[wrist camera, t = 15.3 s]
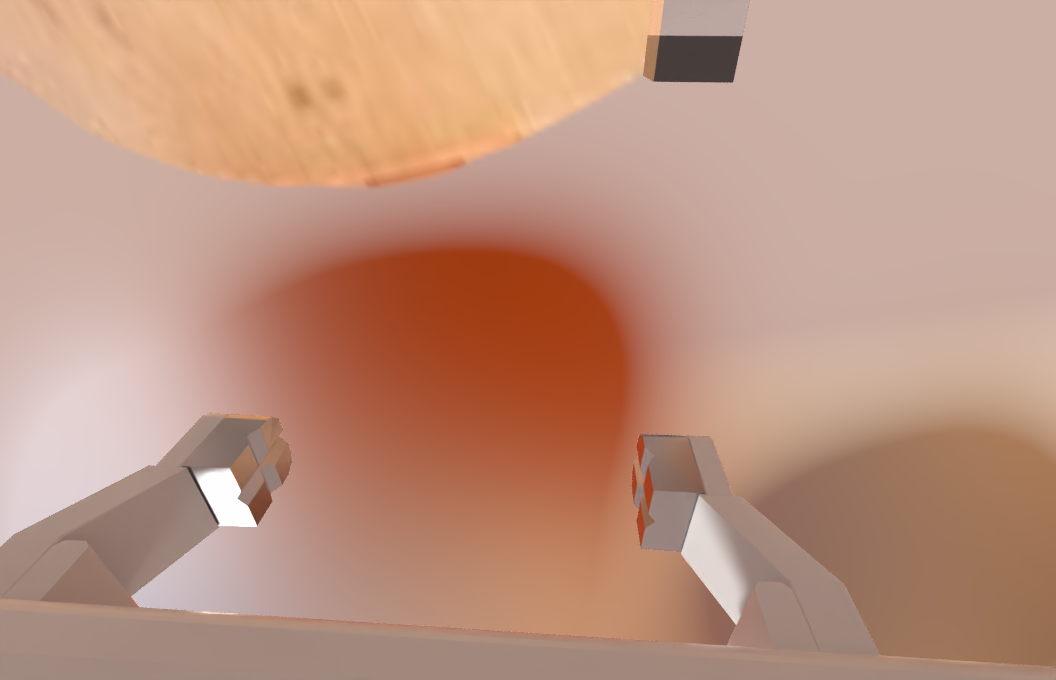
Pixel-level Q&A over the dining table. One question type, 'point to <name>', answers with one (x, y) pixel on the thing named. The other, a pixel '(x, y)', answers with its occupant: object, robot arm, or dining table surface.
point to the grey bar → (694, 40)
